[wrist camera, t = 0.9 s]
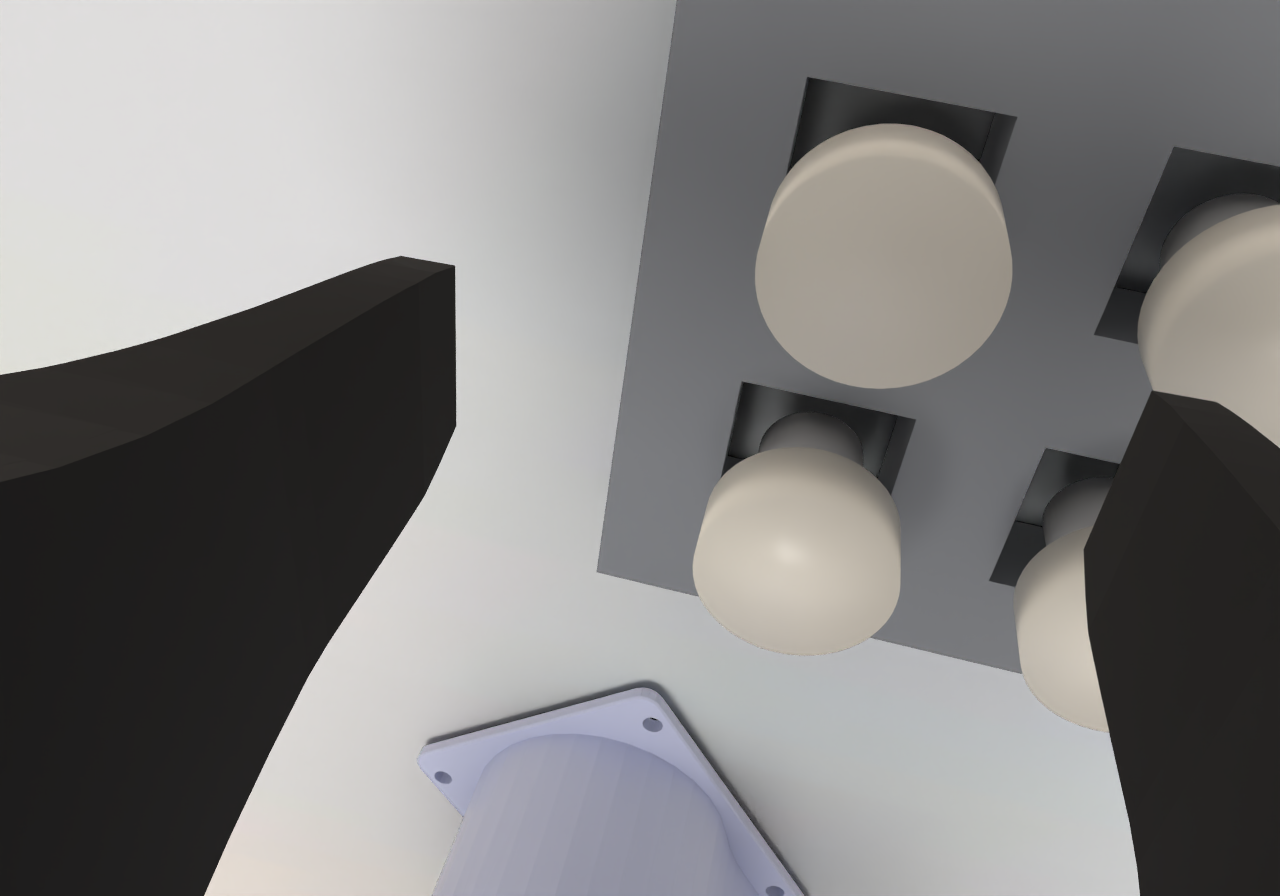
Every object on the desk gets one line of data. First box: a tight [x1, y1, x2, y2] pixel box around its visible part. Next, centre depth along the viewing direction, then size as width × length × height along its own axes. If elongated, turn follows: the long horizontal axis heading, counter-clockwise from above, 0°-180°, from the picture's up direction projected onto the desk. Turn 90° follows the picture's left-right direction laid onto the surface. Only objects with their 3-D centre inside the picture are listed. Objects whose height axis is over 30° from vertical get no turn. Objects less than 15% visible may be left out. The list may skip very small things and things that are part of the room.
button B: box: [1013, 477, 1114, 732], centre depth 19 cm, size 3×3×4 cm
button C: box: [755, 124, 1012, 389], centre depth 16 cm, size 3×3×4 cm
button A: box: [693, 412, 901, 656], centre depth 19 cm, size 3×3×4 cm
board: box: [597, 0, 1280, 674], centre depth 19 cm, size 13×13×2 cm
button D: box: [1137, 193, 1280, 448], centre depth 16 cm, size 3×3×4 cm
